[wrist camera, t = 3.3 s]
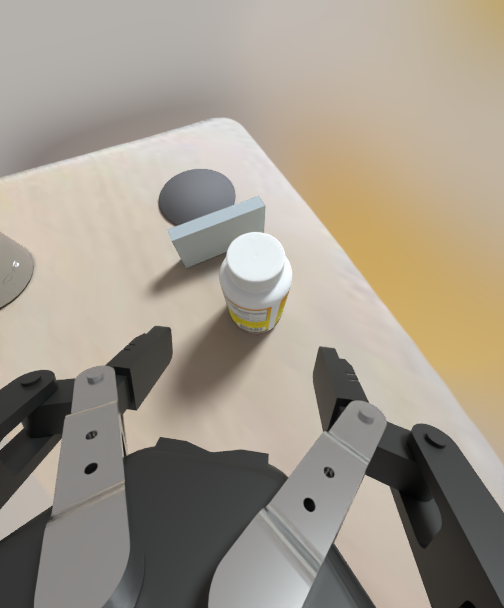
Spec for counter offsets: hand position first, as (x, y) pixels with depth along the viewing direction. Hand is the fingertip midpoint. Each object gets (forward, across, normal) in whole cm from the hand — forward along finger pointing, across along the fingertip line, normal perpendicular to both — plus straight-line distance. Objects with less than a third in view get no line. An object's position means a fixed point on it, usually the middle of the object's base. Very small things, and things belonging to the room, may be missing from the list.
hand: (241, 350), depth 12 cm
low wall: (+17, +5, -2) cm, 18 cm away
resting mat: (+22, +10, -8) cm, 26 cm away
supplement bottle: (+12, 0, +3) cm, 13 cm away
